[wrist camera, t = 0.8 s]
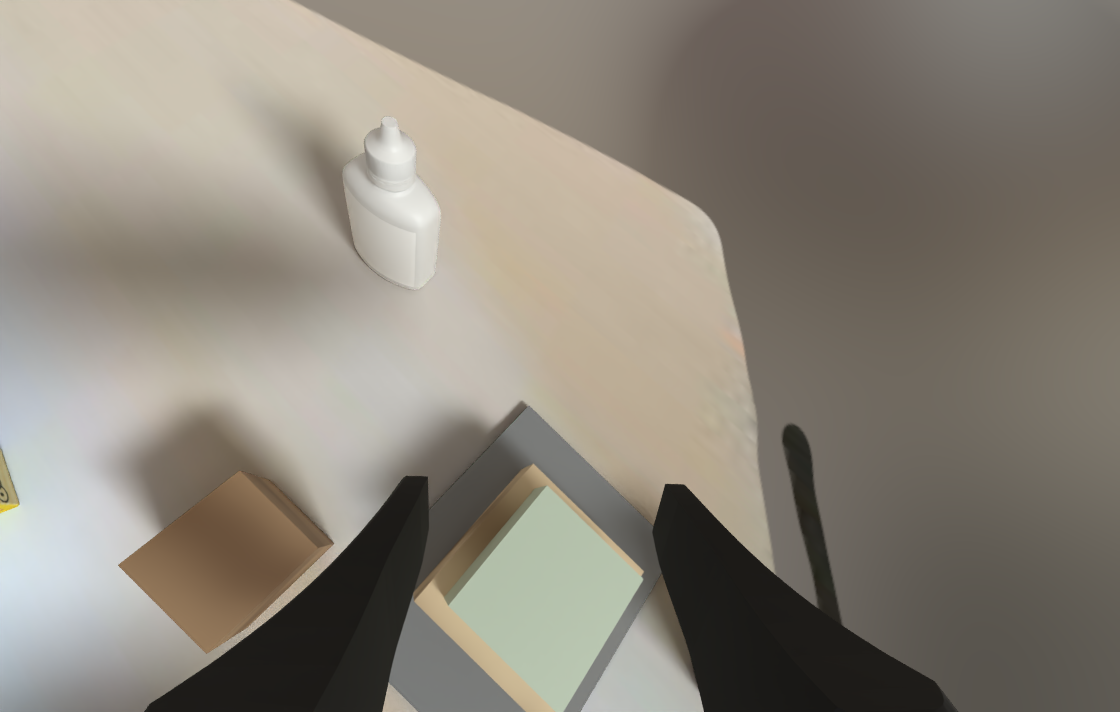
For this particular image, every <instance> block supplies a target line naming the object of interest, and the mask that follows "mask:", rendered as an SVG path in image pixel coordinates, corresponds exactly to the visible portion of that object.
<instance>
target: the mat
mask: <svg viewBox="0 0 1120 712" xmlns="http://www.w3.org/2000/svg"><path fill="white" fill-rule="evenodd" d="M532 464H534V465H535V466H536V467H537V468H538V469H539V470H540V471H541V472H543V473H544V474H545V475H546V476H547V477H548V478H549V479H550V480H551V481H552V482H553V483H554V484H555V485H556V486H557V487H558V488H559V489H560V490H561V491H562V492H563V493H564V494H565V495H566V496H567V497H568V498H569V499H570V500H571V501H572V502H573V503H574V504H575V505H576V506H577V507H578V508H579V509H580V510H582V511H583V512H584V513H585V514H586V515H587V516H588V517H589V518H590V519H591V520H592V521H593V522H594V523H595V524H596V525H597V526H598V527H599V528H600V529H601V530H602V531H603V532H604V533H605V534H606V535H607V536H608V537H609V538H610V539H611V540H612V541H613V542H614V543H615V544H616V545H617V546H618V547H620V548H621V549H622V550H623V551H624V552H625V553H626V554H627V555H628V556H629V557H630V558H631V559H632V560H633V561H634V562H635V563H636V564H637V565H638V566H639V567H640V568H641V569H642V570H643V571H644V572H643V574H642V576H641V577H642V578H643V581H642V583H641V584H640V586H639V588H638V589H637V591H636V593H635V594H634V596H633V598H632V599H631V601H630V602H629V604H628V606H627V607H626V609H625V611H624V612H623V614H622V616H621V617H620V619H619V621H618V622H617V624H616V626H615V627H614V629H613V631H612V632H611V634H610V636H609V637H608V639H607V641H606V642H605V644H604V646H603V647H602V649H601V650H600V652H599V654H598V655H597V657H596V659H595V660H594V662H593V664H592V665H591V667H590V669H589V670H588V672H587V674H586V675H585V677H584V679H583V680H582V682H581V684H580V685H579V687H578V689H577V690H576V692H575V693H574V695H573V697H572V698H571V700H570V702H569V703H568V705H567V707H566V708H565V710H564V712H580V711H581V710H582V708H583V706H584V705H585V703H586V701H587V700H588V698H589V696H590V694H591V693H592V691H593V689H594V688H595V686H596V684H597V682H598V681H599V679H600V677H601V676H602V674H603V672H604V671H605V669H606V667H607V665H608V664H609V662H610V660H611V659H612V657H613V655H614V654H615V652H616V650H617V648H618V647H619V645H620V643H621V642H622V640H623V638H624V636H625V635H626V633H627V631H628V630H629V628H630V626H631V625H632V623H633V621H634V619H635V618H636V616H637V614H638V613H639V611H640V609H641V607H642V606H643V604H644V602H645V601H646V599H647V597H648V596H649V594H650V592H651V590H652V589H653V587H654V585H655V584H656V582H657V580H658V578H659V577H660V575H661V573H662V571H661V568H660V565H659V561H658V557H657V553H656V548H655V543H654V538H653V534H652V531H653V526H652V525H651V524H650V523H649V522H648V521H647V520H646V519H645V518H644V517H643V516H642V515H641V514H640V513H639V512H638V511H637V510H636V509H635V508H634V507H633V506H632V505H631V504H630V503H629V502H628V501H627V500H626V499H625V498H624V497H622V496H621V495H620V494H619V493H618V492H617V491H616V490H615V489H614V488H613V487H612V486H611V485H610V484H609V483H608V482H607V481H606V480H605V479H604V478H603V477H602V476H601V475H600V474H599V473H598V472H597V471H596V470H595V469H594V468H593V467H592V466H591V465H590V464H589V463H587V462H586V461H585V460H584V459H583V458H582V457H581V456H580V455H579V454H578V453H577V452H576V451H575V450H574V449H573V448H572V447H571V446H570V445H569V444H568V443H567V442H566V441H565V440H564V439H563V438H562V437H561V436H560V435H559V434H558V433H557V432H556V431H555V430H554V429H552V428H551V427H550V426H549V425H548V424H547V423H546V422H545V421H544V420H543V419H542V418H541V417H540V416H539V415H538V414H537V413H536V412H535V411H534V410H533V409H532V408H531V407H530V406H528V407H527V408H526V409H525V410H524V411H523V412H522V413H521V414H520V415H519V416H518V417H517V418H516V419H515V420H514V422H513V423H512V424H511V425H510V426H509V427H508V428H507V429H506V430H505V431H504V432H503V433H502V434H501V435H500V436H499V437H498V438H497V439H496V440H495V441H494V442H493V444H492V445H491V446H490V447H489V448H488V449H487V450H486V451H485V452H484V453H483V454H482V455H481V456H480V457H479V458H478V459H477V460H476V461H475V462H474V463H473V464H472V465H471V467H470V468H469V469H468V470H467V471H466V472H465V473H464V474H463V475H462V476H461V477H460V478H459V479H458V480H457V481H456V482H455V483H454V484H453V485H452V486H451V487H450V489H449V490H448V491H447V492H446V493H445V494H444V495H443V496H442V497H441V498H440V499H439V500H438V501H437V502H436V503H435V504H434V505H433V506H432V507H431V508H430V509H429V532H428V537H427V542H426V548H425V553H424V558H423V563H422V566H421V569H420V573H419V576H418V579H417V583H416V586H415V589H414V591H415V590H416V589H417V588H418V586H419V585H420V584H421V583H422V582H423V581H424V580H425V578H426V577H427V576H428V575H429V574H430V573H431V572H432V571H433V569H434V568H435V567H436V566H437V565H438V564H439V563H440V561H441V560H442V559H443V558H444V557H445V556H446V555H447V553H448V552H449V551H450V550H451V549H452V548H453V547H454V545H455V544H456V543H457V542H458V541H459V540H460V539H461V537H462V536H463V535H464V534H465V533H466V532H467V531H468V530H469V528H470V527H471V526H472V525H473V524H474V523H475V522H476V520H477V519H478V518H479V517H480V516H481V515H482V514H483V512H484V511H485V510H486V509H487V508H488V507H489V506H490V504H491V503H492V502H493V501H494V500H495V499H496V498H497V496H498V495H499V494H500V493H501V492H502V491H503V490H504V488H505V487H506V486H507V485H508V484H509V483H510V482H511V481H512V479H513V478H514V477H515V476H516V475H517V474H518V473H519V471H520V470H521V469H523V468H525V467H527V466H529V465H532ZM389 683H390V684H391V685H392V686H393V687H394V688H395V689H396V690H397V691H398V692H399V693H400V694H401V695H402V696H403V697H404V698H405V699H406V700H407V701H408V702H409V703H410V704H411V705H412V706H413V707H414V708H415V709H416V710H417V711H418V712H526V711H525V710H524V709H523V708H522V707H520V706H519V705H518V704H517V703H516V702H515V701H514V700H513V699H512V698H511V697H510V696H509V695H508V694H507V693H506V692H505V691H504V690H503V689H502V688H501V687H500V686H499V685H498V684H497V683H496V682H495V681H494V680H493V679H492V678H491V677H490V676H489V675H488V674H487V673H486V672H485V671H484V670H483V669H482V668H481V667H480V666H479V665H478V664H477V663H476V662H475V661H474V660H473V659H472V658H471V657H470V656H469V655H468V654H467V653H466V652H465V651H464V650H463V649H462V648H461V647H460V646H459V645H458V644H457V643H456V642H455V641H454V640H453V639H452V638H451V637H450V636H449V635H448V634H446V633H445V632H444V631H443V630H442V629H441V628H440V627H439V626H438V625H437V624H436V623H435V622H434V621H433V620H432V619H431V618H430V617H429V616H428V615H427V614H426V613H425V612H424V611H423V610H422V609H421V608H420V607H419V606H418V605H417V604H416V603H415V602H414V597H413V596H412V599H411V602H410V606H409V609H408V612H407V615H406V619H405V622H404V625H403V628H402V632H401V635H400V638H399V641H398V645H397V648H396V652H395V656H394V660H393V664H392V668H391V673H390V678H389Z"/></svg>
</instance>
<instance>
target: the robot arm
mask: <svg viewBox="0 0 1120 712" xmlns="http://www.w3.org/2000/svg"><path fill="white" fill-rule="evenodd" d="M428 532H429V505H428V477H423V476H406V477H404V478H403V479H402V480H401V482H400V483H399V484H398V486H397V487H396V489H395V490H394V491H393V493H392V494H391V495H390V497H389V498H388V499H387V501H386V502H385V503H384V505H383V506H382V507H381V508H380V510H379V511H378V512H377V513H376V514H375V516H374V517H373V518H372V519H371V520H370V522H369V523H368V524H367V525H366V526H365V528H364V529H363V530H362V531H361V532H360V533H359V535H358V536H357V537H356V538H355V539H354V540H353V541H352V542H351V543H350V544H349V545H348V546H347V548H346V549H345V550H344V551H343V552H342V553H341V554H340V555H339V556H338V557H337V558H336V559H335V560H334V561H333V562H332V563H331V564H330V565H329V566H328V567H327V568H326V569H325V570H324V571H323V572H322V573H321V574H320V575H319V576H318V577H317V578H316V579H315V580H314V581H313V582H312V583H311V584H310V585H308V586H307V587H306V588H305V589H304V590H303V591H302V592H301V593H300V594H298V595H297V596H296V597H295V598H294V599H293V600H292V601H290V602H289V603H288V604H287V605H286V606H285V607H283V608H282V609H281V610H280V611H279V612H278V613H276V614H275V615H274V616H273V617H271V618H270V619H269V620H268V621H267V622H265V623H264V624H263V625H262V626H260V627H259V628H258V629H256V630H255V631H254V632H252V633H251V634H250V635H248V636H247V637H246V638H244V639H243V640H242V641H240V642H239V643H238V644H237V645H235V646H234V647H233V648H231V649H230V650H229V651H227V652H226V653H225V654H223V655H222V656H221V657H219V658H218V659H216V660H215V661H214V662H212V663H211V664H209V665H208V666H206V667H205V668H203V669H202V670H200V671H199V672H197V673H196V674H195V675H193V676H192V677H190V678H189V679H187V680H186V681H184V682H183V683H181V684H180V685H178V686H177V687H175V688H174V689H172V690H171V691H169V692H168V693H166V694H165V695H163V696H162V697H160V698H158V699H157V700H155V701H154V702H152V703H151V704H149V706H148V707H147V709H146V710H145V711H144V712H382V710H383V705H384V701H385V696H386V691H387V687H388V682H389V678H390V673H391V668H392V664H393V660H394V656H395V652H396V648H397V645H398V641H399V638H400V635H401V632H402V628H403V625H404V622H405V619H406V615H407V612H408V609H409V606H410V602H411V599H412V596H413V593H414V589H415V586H416V583H417V579H418V576H419V573H420V569H421V566H422V563H423V558H424V553H425V548H426V542H427V537H428ZM652 534H653V538H654V543H655V548H656V553H657V557H658V561H659V565H660V568H661V571H662V574H663V577H664V580H665V583H666V586H667V589H668V592H669V595H670V598H671V600H672V603H673V606H674V609H675V612H676V615H677V617H678V620H679V623H680V626H681V629H682V632H683V635H684V637H685V640H686V644H687V647H688V650H689V653H690V656H691V660H692V664H693V668H694V672H695V676H696V680H697V684H698V688H699V692H700V696H701V700H702V705H703V709H704V712H958V711H957V709H956V708H955V707H954V706H953V704H952V703H951V702H950V700H949V699H948V698H947V697H946V695H945V694H944V693H943V691H942V690H941V689H940V688H939V686H938V685H937V684H936V683H935V681H933V680H931V679H929V678H928V677H926V676H924V675H922V674H921V673H919V672H917V671H915V670H914V669H912V668H910V667H908V666H907V665H905V664H903V663H901V662H900V661H898V660H896V659H894V658H893V657H891V656H889V655H887V654H886V653H884V652H882V651H881V650H879V649H878V648H876V647H874V646H873V645H871V644H870V643H868V642H867V641H865V640H863V639H862V638H860V637H859V636H857V635H856V634H854V633H853V632H851V631H850V630H848V629H847V628H845V627H844V626H842V625H841V624H839V623H838V622H836V621H835V620H833V619H832V618H831V617H829V616H828V615H826V614H825V613H824V612H822V611H821V610H820V609H818V608H817V607H815V606H814V605H812V604H811V603H810V602H808V601H807V600H806V599H805V598H803V597H802V596H801V595H799V594H798V593H797V592H796V591H794V590H793V589H792V588H791V587H789V586H788V585H787V584H786V583H784V582H783V581H782V580H781V579H780V578H778V577H777V576H776V575H775V574H774V573H773V572H771V571H770V570H769V569H768V568H767V567H766V566H765V565H763V564H762V563H761V562H760V561H759V560H758V559H757V558H756V557H755V556H754V555H753V554H752V553H750V552H749V551H748V550H747V549H746V548H745V547H744V546H743V545H742V544H741V543H740V542H739V541H738V540H737V539H736V538H735V537H734V536H733V535H732V534H731V533H730V532H729V531H728V530H727V529H726V528H725V527H724V526H723V525H722V524H721V523H720V522H719V521H718V520H717V519H716V518H715V517H714V516H713V514H712V513H711V512H710V511H709V510H708V509H707V508H706V507H705V506H704V505H703V504H702V503H701V502H700V501H699V500H698V498H697V497H696V496H695V495H694V494H693V493H692V492H691V491H690V490H689V489H688V488H687V487H686V486H685V485H682V484H665V487H664V491H663V494H662V498H661V502H660V505H659V509H658V512H657V516H656V520H655V523H654V527H653V531H652Z"/></svg>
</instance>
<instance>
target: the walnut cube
mask: <svg viewBox="0 0 1120 712" xmlns="http://www.w3.org/2000/svg"><path fill="white" fill-rule="evenodd" d="M333 544H334V543H333V542H332V541H331V540H330V539H329V538H328V537H327V536H326V535H325V534H324V533H323V532H322V531H321V530H320V529H319V528H318V527H317V526H316V525H315V524H314V523H313V522H312V521H311V520H310V519H309V518H308V517H307V516H306V515H305V514H304V513H303V512H302V511H301V510H300V509H299V508H298V507H297V506H296V505H295V504H293V503H292V502H291V501H290V500H289V499H288V498H287V497H286V496H285V495H284V494H283V493H282V492H281V491H280V490H279V489H278V488H277V487H276V486H275V485H274V484H273V483H272V482H271V481H270V480H267V479H264V478H261V477H258V476H255V475H252V474H249V473H246V472H243V471H238V472H237V473H236V474H234V475H233V476H232V477H231V478H229V479H228V480H227V481H225V482H224V483H223V484H222V485H220V486H219V487H218V488H216V489H215V490H214V491H213V492H211V493H210V494H209V495H207V496H206V497H205V498H204V499H202V500H201V501H200V502H198V503H197V504H196V505H195V506H193V507H192V508H191V509H190V510H188V511H187V512H186V513H184V514H183V515H182V516H181V517H179V518H178V519H177V520H175V521H174V522H173V523H172V524H170V525H169V526H168V527H166V528H165V529H164V530H163V531H161V532H160V533H159V534H157V535H156V536H155V537H154V538H152V539H151V540H150V541H148V542H147V543H146V544H145V545H143V546H142V547H141V548H139V549H138V550H137V551H136V552H134V553H133V554H132V555H130V556H129V557H128V558H127V559H125V560H124V561H123V562H121V563H120V564H119V565H118V566H119V567H120V568H121V569H122V570H123V571H124V572H125V573H126V574H127V575H128V576H129V577H130V578H131V579H132V580H133V581H134V582H135V583H136V584H137V585H138V586H139V587H140V588H141V589H142V590H143V591H144V592H145V593H146V594H147V595H148V596H149V597H150V598H151V599H152V600H153V601H154V602H155V603H156V604H157V605H158V606H159V607H160V608H161V609H162V610H163V611H164V612H165V613H166V614H167V615H168V616H169V617H170V618H171V619H172V620H173V621H174V622H175V623H176V624H177V625H178V626H179V627H180V628H181V629H182V630H183V631H184V632H185V633H186V634H187V635H188V636H189V637H190V638H191V639H192V640H193V641H194V642H195V643H196V644H197V645H198V646H199V647H200V648H201V649H202V650H203V651H204V652H205V653H206V654H207V653H209V652H210V651H212V650H213V649H215V648H216V647H218V646H220V645H221V644H223V643H224V642H226V641H227V640H229V639H230V638H232V637H233V636H235V635H236V634H238V633H240V632H241V631H243V630H244V629H246V628H247V627H248V626H249V625H250V624H251V623H252V622H253V621H255V620H256V619H257V618H258V617H259V616H260V615H261V614H262V613H263V612H264V611H265V610H266V609H267V608H268V607H269V606H270V605H271V604H272V603H273V602H274V601H275V600H276V599H277V598H278V597H279V596H280V595H281V594H283V593H284V592H285V591H286V590H287V589H288V588H289V587H290V586H291V585H292V584H293V583H294V582H295V581H296V580H297V579H298V578H299V577H300V576H301V575H302V574H303V573H304V572H305V571H306V570H307V569H308V568H309V567H311V566H312V565H313V564H314V563H315V562H316V561H317V560H318V559H319V558H320V557H321V556H322V555H323V554H324V553H325V552H326V551H327V550H328V549H329V548H330V547H331V546H332V545H333Z"/></svg>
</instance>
